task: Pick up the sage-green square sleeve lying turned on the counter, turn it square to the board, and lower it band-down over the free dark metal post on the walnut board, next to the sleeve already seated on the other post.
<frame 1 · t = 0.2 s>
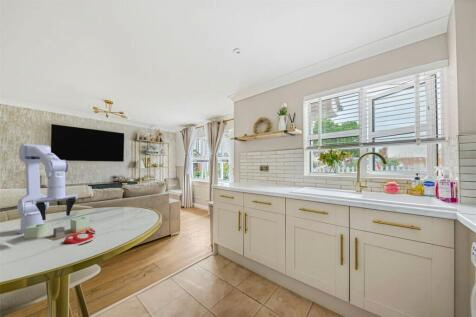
hand: (56, 217, 81), 10 cm above the table, tool pointing down, fingers open, 7 cm apart
pin board: (70, 234, 86), on the table
tracker holder: (83, 241, 79), on the table
seated sleeve: (80, 229, 90), point 1 cm above the table, touching pin board
sleeve: (36, 237, 83), on the table
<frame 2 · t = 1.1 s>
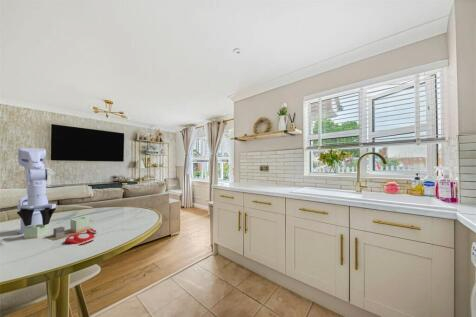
hand: (37, 224, 83), 6 cm above the table, tool pointing down, fingers open, 7 cm apart
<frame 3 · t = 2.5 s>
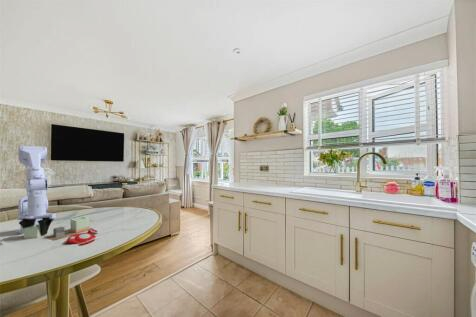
hand: (36, 234, 83), 1 cm above the table, tool pointing down, fingers closed on sleeve, 5 cm apart
sleeve: (36, 237, 83), on the table, touching gripper
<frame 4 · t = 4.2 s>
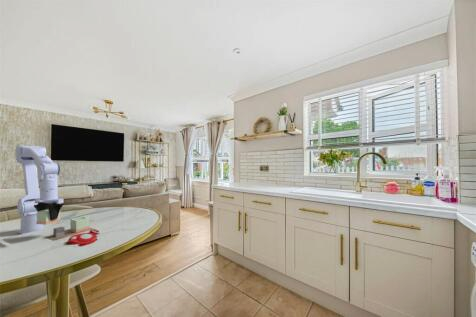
hand: (49, 219, 83), 9 cm above the table, tool pointing down, fingers closed on sleeve, 5 cm apart
sleeve: (48, 222, 83), point 7 cm above the table, touching gripper
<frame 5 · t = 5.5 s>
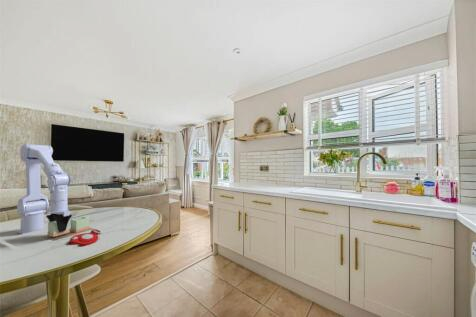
hand: (59, 230, 83), 3 cm above the table, tool pointing down, fingers closed on sleeve, 5 cm apart
sleeve: (58, 233, 83), point 2 cm above the table, touching gripper
when the fingers open (3 cm above the table, at t = 6.4 s): sleeve drops 1 cm, resting on pin board.
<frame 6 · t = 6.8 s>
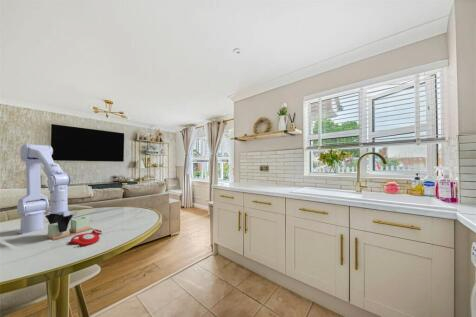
hand: (59, 230, 83), 3 cm above the table, tool pointing down, fingers open, 7 cm apart
sleeve: (58, 235, 83), point 1 cm above the table, touching pin board
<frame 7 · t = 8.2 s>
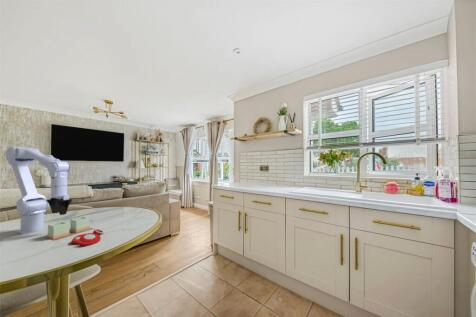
hand: (59, 213, 89), 9 cm above the table, tool pointing down, fingers open, 7 cm apart
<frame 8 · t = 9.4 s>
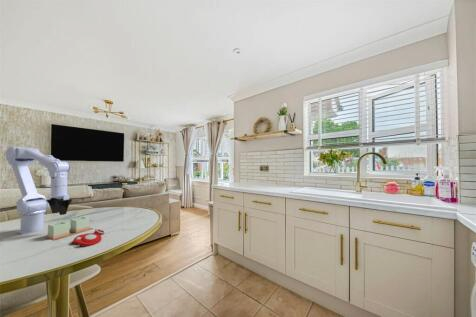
hand: (59, 213, 89), 9 cm above the table, tool pointing down, fingers open, 7 cm apart
at the end: sleeve 0.0 cm from the target spot on the pin board, point 1.0 cm above the pin board's base; sleeve tilted 0°; seated sleeve moved 0.0 cm from its start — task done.
